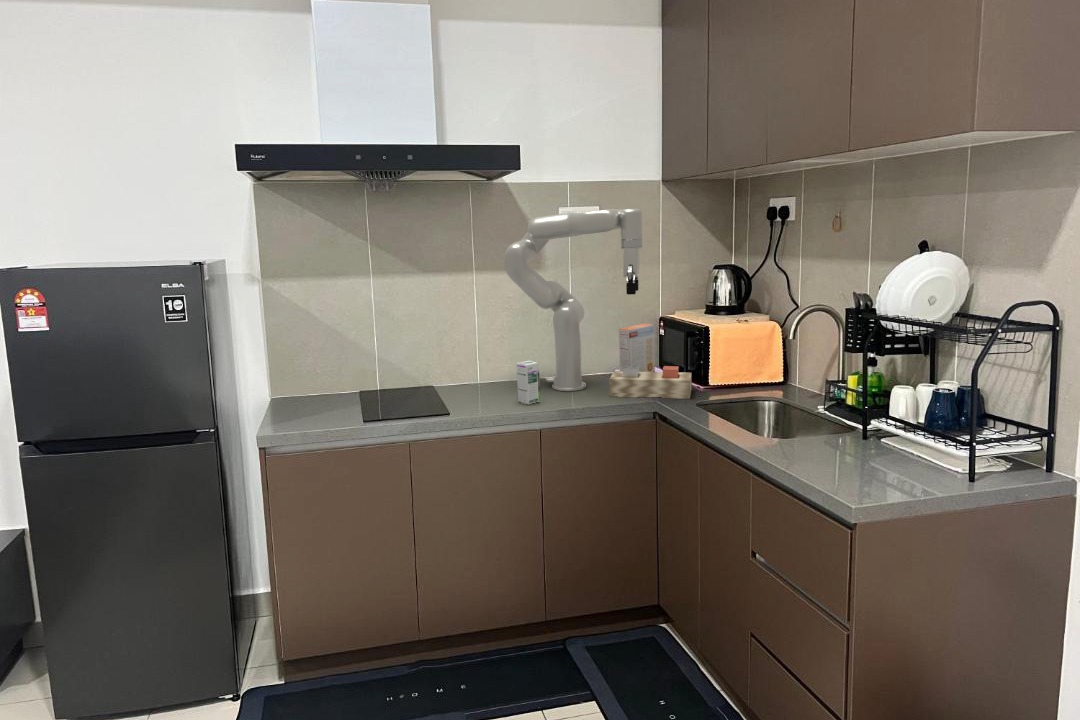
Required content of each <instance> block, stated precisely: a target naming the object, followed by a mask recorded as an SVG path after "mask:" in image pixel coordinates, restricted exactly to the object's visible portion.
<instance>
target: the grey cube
mask: <svg viewBox="0 0 1080 720" xmlns="http://www.w3.org/2000/svg"><path fill="white" fill-rule="evenodd" d="M623 377H634V378H639V366H624V368H623Z"/></svg>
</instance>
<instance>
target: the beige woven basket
mask: <svg viewBox="0 0 1080 720" xmlns="http://www.w3.org/2000/svg"><path fill="white" fill-rule="evenodd" d="M691 395H692V372H685V371H684V372H683V371H682V372H679V378H663V371H655V372H639V378H634V377H623V371H617V370H614V371H613V372H612V374H611V376H610V377H609V397H610V396H618V397H617V398H637V397H649V398H648V399H651V398H650V397H662V398H661V399H681V400H682V399H685V400H688V399H689V400H690V399H691Z"/></svg>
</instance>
